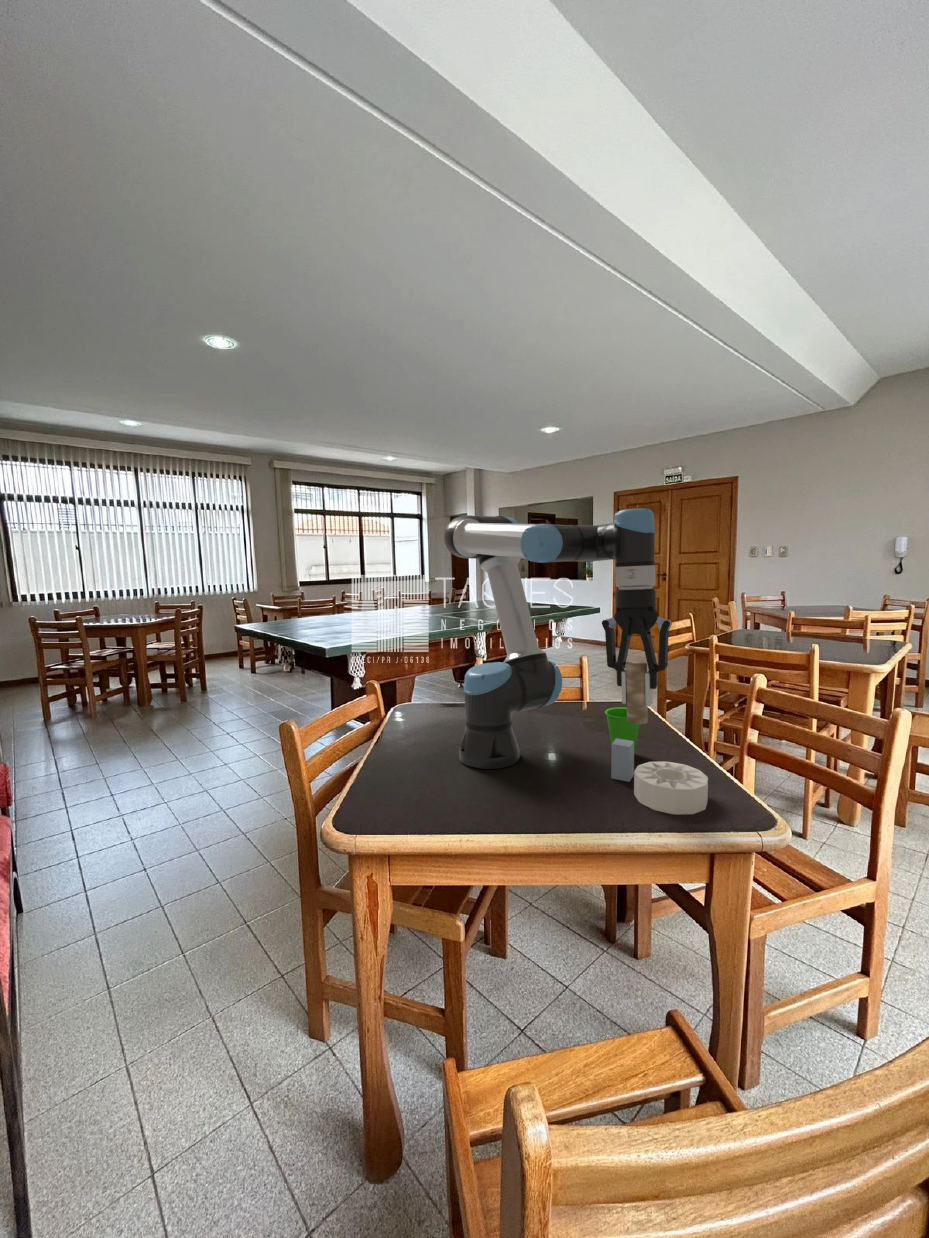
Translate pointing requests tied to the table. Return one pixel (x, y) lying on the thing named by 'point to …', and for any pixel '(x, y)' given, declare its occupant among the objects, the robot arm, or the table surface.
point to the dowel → (636, 692)
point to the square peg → (622, 760)
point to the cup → (621, 725)
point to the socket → (671, 787)
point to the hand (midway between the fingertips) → (637, 702)
